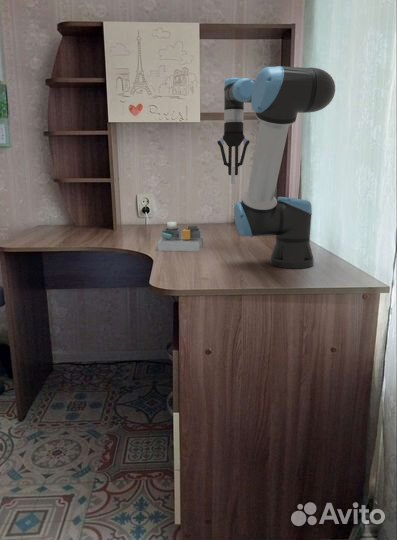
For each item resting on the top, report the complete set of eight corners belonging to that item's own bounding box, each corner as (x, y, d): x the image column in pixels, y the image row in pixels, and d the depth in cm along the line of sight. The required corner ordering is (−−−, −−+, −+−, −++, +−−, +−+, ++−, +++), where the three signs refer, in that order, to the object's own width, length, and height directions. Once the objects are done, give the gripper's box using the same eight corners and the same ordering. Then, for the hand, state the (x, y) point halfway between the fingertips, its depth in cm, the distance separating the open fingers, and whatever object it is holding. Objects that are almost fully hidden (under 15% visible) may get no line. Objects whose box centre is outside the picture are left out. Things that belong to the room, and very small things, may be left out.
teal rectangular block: (170, 238, 175) (171, 235, 174) (161, 236, 175) (161, 233, 175) (171, 237, 177) (172, 234, 177) (162, 235, 177) (162, 232, 177)
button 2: (196, 234, 180) (196, 227, 179) (187, 234, 180) (187, 227, 179) (198, 232, 184) (197, 225, 183) (188, 232, 184) (188, 225, 183)
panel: (199, 251, 172) (199, 234, 170) (157, 250, 174) (157, 233, 172) (203, 244, 186) (202, 228, 184) (164, 243, 188) (164, 227, 186)
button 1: (175, 229, 180) (175, 222, 180) (166, 229, 181) (166, 222, 180) (177, 228, 184) (177, 221, 183) (168, 228, 185) (168, 221, 184)
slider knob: (189, 239, 174) (189, 230, 173) (182, 239, 174) (182, 230, 173) (190, 238, 176) (190, 229, 176) (183, 238, 177) (183, 229, 176)
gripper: (250, 122, 168) (249, 183, 174) (217, 122, 170) (217, 183, 176) (250, 120, 161) (249, 184, 167) (216, 121, 162) (216, 184, 168)
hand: (233, 183), depth 171 cm, fingers closed
